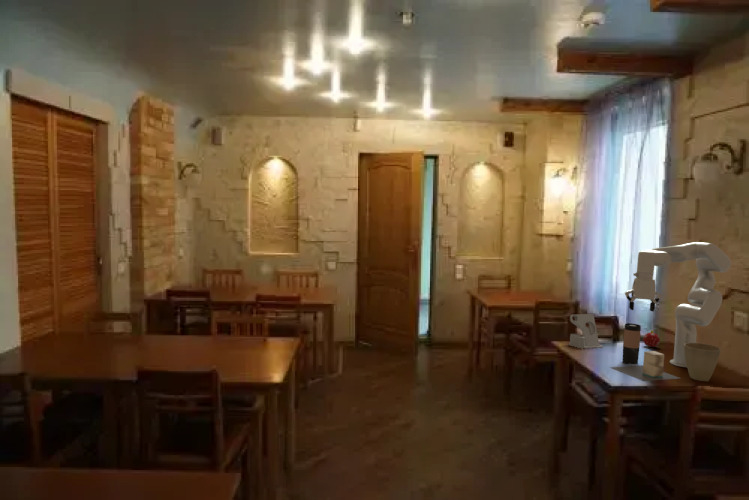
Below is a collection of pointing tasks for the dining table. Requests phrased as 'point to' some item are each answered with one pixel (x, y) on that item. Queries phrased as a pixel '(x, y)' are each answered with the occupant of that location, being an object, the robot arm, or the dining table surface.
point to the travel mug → (631, 343)
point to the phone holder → (584, 332)
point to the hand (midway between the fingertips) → (641, 310)
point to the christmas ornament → (651, 339)
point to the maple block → (653, 364)
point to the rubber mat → (641, 373)
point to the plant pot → (701, 360)
